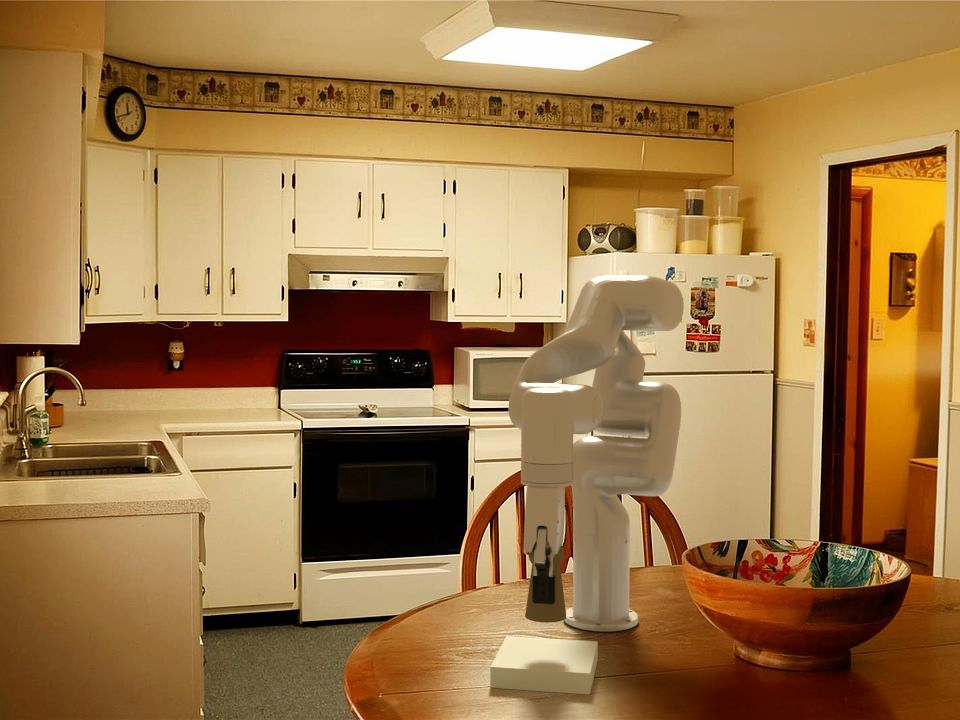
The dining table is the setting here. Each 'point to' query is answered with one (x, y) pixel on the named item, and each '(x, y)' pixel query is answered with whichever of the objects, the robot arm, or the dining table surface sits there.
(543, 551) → the robot arm
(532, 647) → the cream block
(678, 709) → the dining table surface
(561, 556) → the cork
